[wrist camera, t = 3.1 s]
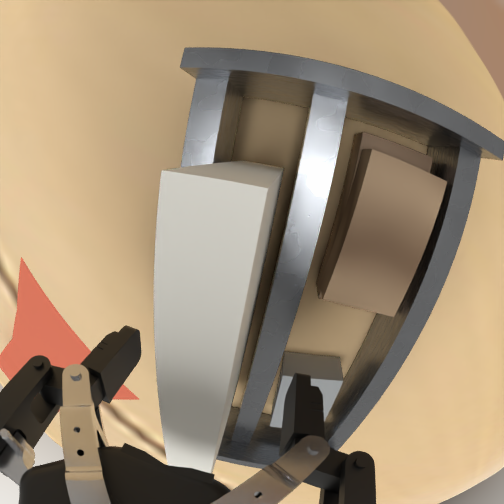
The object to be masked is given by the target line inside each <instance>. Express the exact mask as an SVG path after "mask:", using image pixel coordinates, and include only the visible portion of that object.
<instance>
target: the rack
mask: <svg viewBox="0 0 504 504" xmlns="http://www.w3.org/2000/svg"><path fill="white" fill-rule="evenodd" d="M180 68H181V69H183V70H184V71H186V72H187V73H189V74H190V75H192V76H193V77H194V78H196V84H195V88H194V93H193V98H192V103H191V108H190V114H189V119H188V125H187V130H186V136H185V143H184V149H183V156H182V162H181V167H188V166H196V165H204V164H213V163H222V162H231V160H232V154H233V149H234V143H235V137H236V132H237V127H238V121H239V116H240V111H241V106H242V101H243V97H248V98H255V99H262V100H269V101H275V102H280V103H286V104H291V105H296V106H301V107H306V108H309V110H308V116H307V121H306V126H305V131H304V136H303V142H302V147H301V152H300V157H299V161H298V166H297V171H296V176H295V181H294V186H293V190H292V195H291V200H290V204H289V209H288V213H287V218H286V223H285V227H284V232H283V236H282V240H281V245H280V249H279V254H278V258H277V262H276V267H275V271H274V275H273V279H272V283H271V288H270V292H269V296H268V300H267V304H266V308H265V312H264V316H263V320H262V324H261V328H260V332H259V336H258V340H257V344H256V348H255V352H254V356H253V360H252V364H251V367H250V371H249V375H248V379H247V382H246V386H245V390H244V394H243V397H242V401H241V405H240V408H235V407H231V409H230V412H229V416H228V420H227V423H226V427H225V430H224V434H223V437H222V441H221V444H220V448H219V451H218V455H217V458H216V459H217V460H221V461H225V462H230V463H234V464H239V465H244V466H249V467H255V468H261V469H263V468H264V467H266V466H268V465H271V464H273V463H274V462H276V461H277V460H278V459H279V458H280V457H282V456H279V450H280V441H281V431H282V428H279V427H271V426H270V421H271V415H268V414H263V413H262V410H263V408H264V405H265V403H266V400H267V397H268V395H269V392H270V389H271V386H272V384H273V381H274V378H275V375H276V373H277V370H278V367H279V364H280V361H281V358H282V355H283V352H284V349H285V347H286V344H287V341H288V337H289V334H290V331H291V328H292V325H293V322H294V319H295V316H296V313H297V309H298V306H299V303H300V300H301V296H302V293H303V290H304V286H305V283H306V279H307V276H308V272H309V269H310V265H311V262H312V258H313V254H314V251H315V247H316V243H317V240H318V236H319V232H320V228H321V224H322V220H323V216H324V212H325V208H326V204H327V200H328V196H329V191H330V187H331V183H332V178H333V174H334V169H335V164H336V160H337V155H338V150H339V145H340V140H341V135H342V130H343V125H344V119H345V117H346V118H350V119H353V120H357V121H360V122H363V123H366V124H370V125H373V126H376V127H379V128H382V129H385V130H388V131H390V132H393V133H396V134H399V135H401V136H404V137H407V138H409V139H412V140H414V141H417V142H419V143H422V144H424V145H426V146H428V151H427V156H430V157H432V158H433V160H432V165H431V170H430V174H433V175H435V176H437V177H439V178H441V179H443V180H445V181H447V185H446V188H445V192H444V195H443V199H442V202H441V205H440V208H439V212H438V215H437V218H436V221H435V223H434V226H433V229H432V232H431V235H430V237H429V240H428V243H427V245H426V248H425V250H424V253H423V255H422V258H421V260H420V263H419V265H418V267H417V270H416V272H415V274H414V277H413V279H412V281H411V283H410V285H409V287H408V290H407V292H406V294H405V296H404V298H403V300H402V302H401V304H400V306H399V308H398V310H397V312H396V314H395V316H394V317H392V316H387V315H383V314H379V313H377V314H376V317H375V319H374V321H373V323H372V325H371V328H370V330H369V332H368V334H367V336H366V338H365V340H364V342H363V344H362V346H361V348H360V350H359V352H358V354H357V356H356V358H355V360H354V362H353V364H352V366H351V367H350V369H349V371H348V373H347V375H346V377H345V378H344V380H343V383H342V385H341V388H340V390H339V392H338V394H337V397H336V399H335V401H334V403H333V405H332V407H331V409H330V411H329V413H328V415H327V417H326V419H325V421H324V434H325V440H326V441H327V442H328V444H329V446H330V447H331V448H333V449H334V450H337V451H338V449H339V448H340V447H341V446H342V445H343V444H344V443H345V442H346V441H347V439H348V438H349V437H350V436H351V435H352V434H353V432H354V431H355V430H356V429H357V428H358V426H359V425H360V424H361V423H362V421H363V420H364V419H365V418H366V416H367V415H368V414H369V412H370V411H371V410H372V408H373V407H374V406H375V404H376V403H377V402H378V400H379V399H380V398H381V396H382V395H383V393H384V392H385V390H386V389H387V388H388V386H389V385H390V383H391V382H392V380H393V379H394V377H395V376H396V374H397V372H398V371H399V369H400V368H401V366H402V364H403V363H404V361H405V360H406V358H407V356H408V355H409V353H410V351H411V349H412V348H413V346H414V344H415V342H416V341H417V339H418V337H419V335H420V333H421V331H422V330H423V328H424V326H425V324H426V322H427V320H428V318H429V316H430V314H431V312H432V310H433V308H434V305H435V303H436V301H437V299H438V297H439V295H440V292H441V290H442V288H443V285H444V283H445V281H446V278H447V276H448V273H449V271H450V268H451V266H452V263H453V260H454V258H455V255H456V252H457V249H458V246H459V243H460V240H461V237H462V234H463V231H464V228H465V224H466V221H467V217H468V214H469V210H470V206H471V202H472V198H473V194H474V190H475V185H476V180H477V175H478V170H479V164H480V158H487V159H495V160H503V156H504V141H503V140H502V139H500V138H499V137H497V136H496V135H494V134H493V133H491V132H490V131H488V130H487V129H485V128H484V127H482V126H480V125H479V124H477V123H475V122H474V121H472V120H470V119H469V118H467V117H465V116H463V115H462V114H460V113H458V112H456V111H454V110H453V109H451V108H449V107H447V106H445V105H443V104H441V103H439V102H437V101H435V100H433V99H430V98H428V97H426V96H424V95H422V94H419V93H417V92H415V91H413V90H410V89H408V88H405V87H403V86H400V85H398V84H395V83H393V82H390V81H387V80H384V79H381V78H379V77H376V76H373V75H370V74H367V73H363V72H360V71H357V70H353V69H350V68H346V67H343V66H339V65H335V64H331V63H327V62H323V61H318V60H313V59H309V58H304V57H298V56H292V55H286V54H280V53H273V52H265V51H256V50H246V49H232V48H185V49H184V53H183V57H182V61H181V65H180Z"/></svg>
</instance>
